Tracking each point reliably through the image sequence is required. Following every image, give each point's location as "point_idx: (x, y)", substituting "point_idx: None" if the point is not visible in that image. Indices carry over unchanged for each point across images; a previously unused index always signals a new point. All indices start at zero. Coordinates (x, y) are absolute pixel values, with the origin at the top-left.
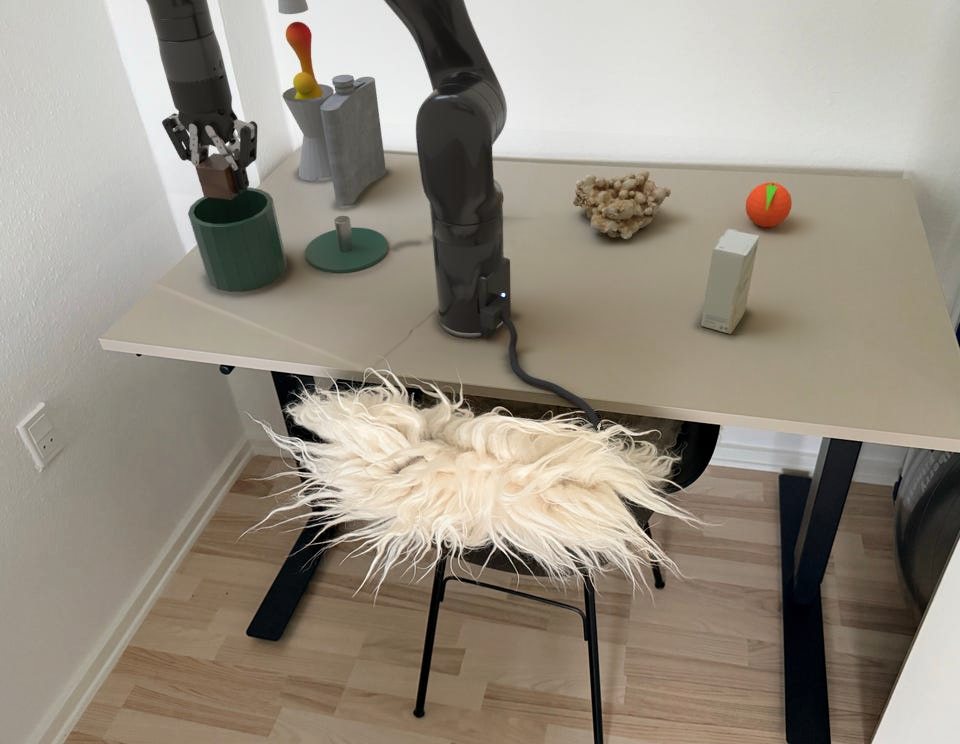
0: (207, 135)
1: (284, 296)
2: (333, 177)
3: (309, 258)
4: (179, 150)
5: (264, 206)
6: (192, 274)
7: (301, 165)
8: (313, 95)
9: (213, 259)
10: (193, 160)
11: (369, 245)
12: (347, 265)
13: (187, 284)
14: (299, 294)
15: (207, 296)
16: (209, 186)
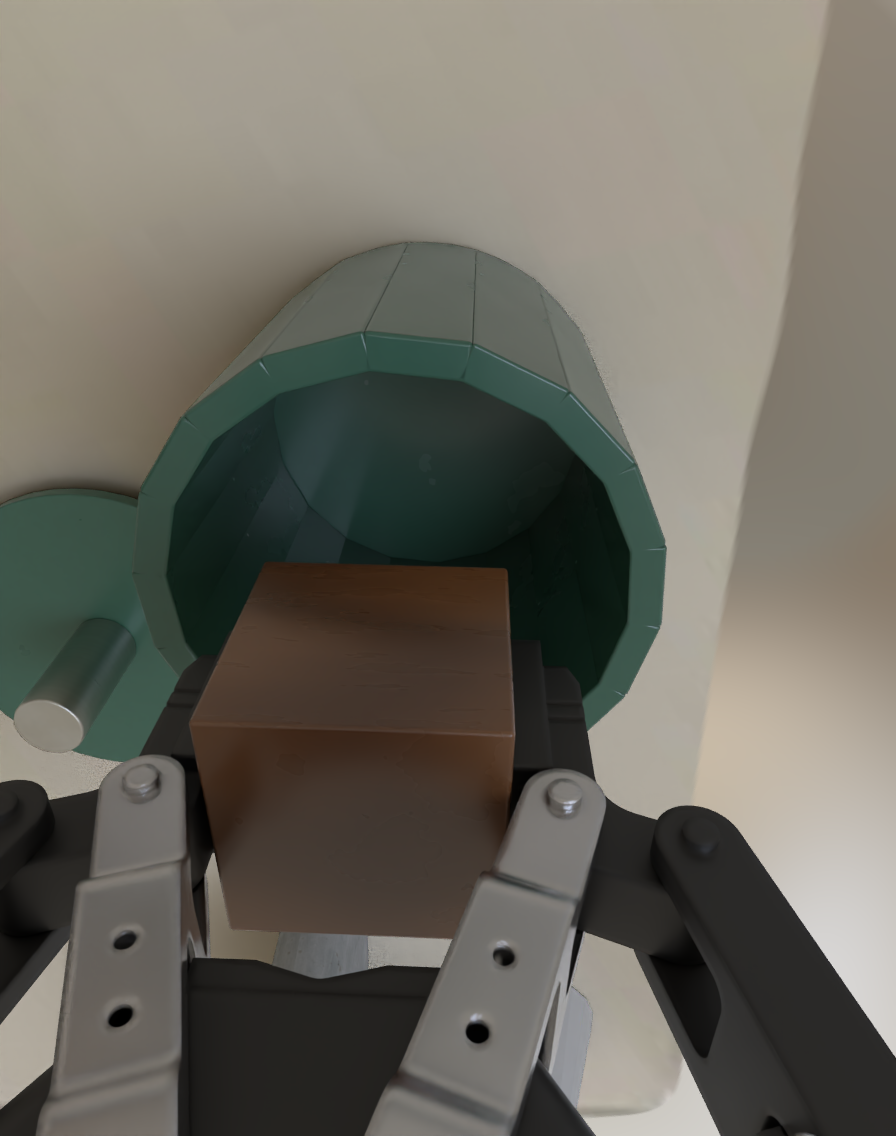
0: (287, 1102)
1: (162, 290)
2: (318, 971)
3: None
4: (738, 894)
5: None
6: (680, 358)
7: (566, 1031)
8: None
9: (444, 281)
10: (577, 810)
11: (34, 670)
12: (13, 532)
13: (665, 273)
14: (109, 321)
15: (514, 197)
16: (424, 616)
